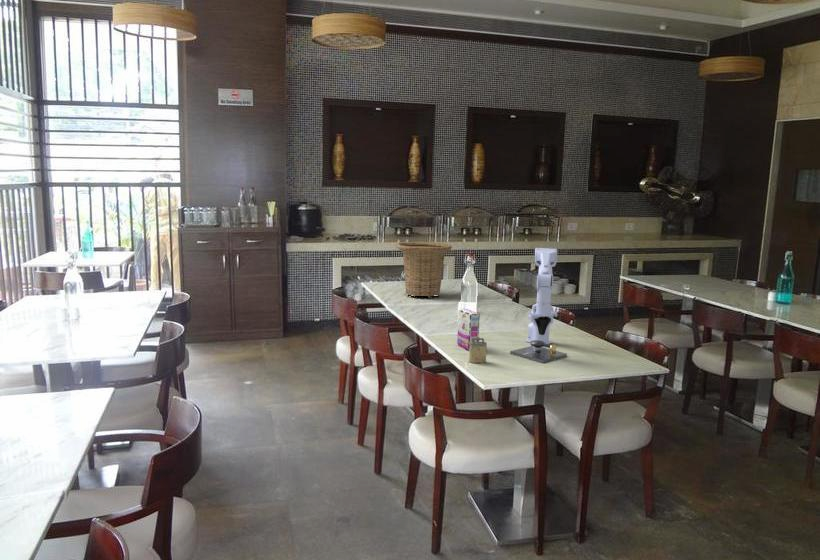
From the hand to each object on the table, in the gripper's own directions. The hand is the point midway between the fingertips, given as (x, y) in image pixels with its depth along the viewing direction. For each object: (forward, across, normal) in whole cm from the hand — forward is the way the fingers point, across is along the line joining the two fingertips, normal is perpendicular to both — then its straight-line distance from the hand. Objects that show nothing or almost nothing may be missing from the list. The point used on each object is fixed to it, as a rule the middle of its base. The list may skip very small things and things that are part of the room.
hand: (541, 334), depth 260 cm
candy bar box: (+10, -19, +26) cm, 34 cm away
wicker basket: (+10, +30, +142) cm, 145 cm away
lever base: (+10, +2, +3) cm, 10 cm away
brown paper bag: (+10, -28, +6) cm, 31 cm away
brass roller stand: (+8, +3, +2) cm, 9 cm away
